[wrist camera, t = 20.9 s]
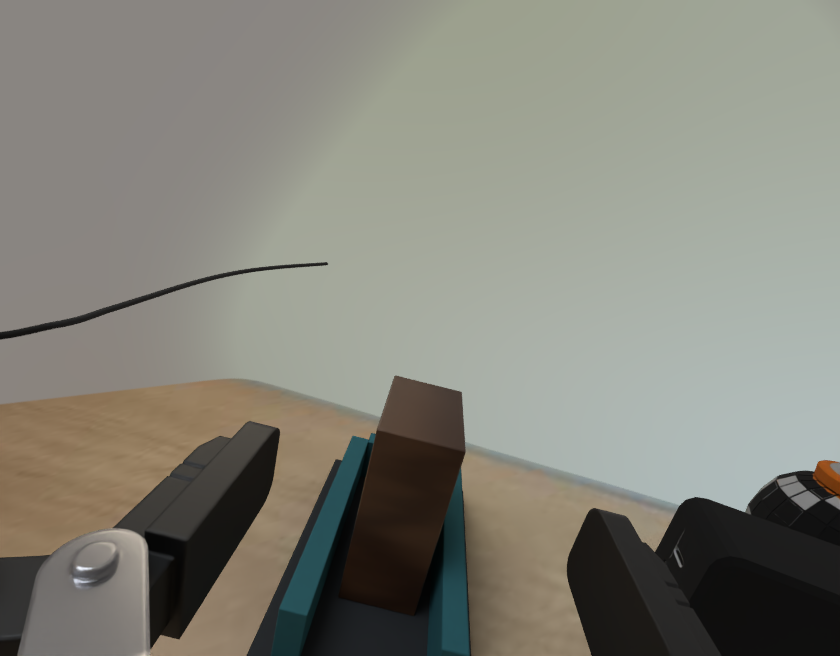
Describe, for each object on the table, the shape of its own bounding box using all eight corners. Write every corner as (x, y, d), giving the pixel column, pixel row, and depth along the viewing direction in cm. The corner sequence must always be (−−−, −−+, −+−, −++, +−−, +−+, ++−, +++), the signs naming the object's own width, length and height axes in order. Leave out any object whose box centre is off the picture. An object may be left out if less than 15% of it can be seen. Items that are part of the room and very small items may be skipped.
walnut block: (337, 597, 20) (376, 429, 17) (362, 512, 26) (394, 374, 23) (414, 616, 20) (466, 451, 17) (421, 527, 26) (462, 391, 23)
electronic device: (613, 628, 23) (686, 490, 21) (808, 715, 21) (919, 574, 18) (628, 708, 20) (720, 550, 17) (868, 823, 17) (1021, 666, 14)
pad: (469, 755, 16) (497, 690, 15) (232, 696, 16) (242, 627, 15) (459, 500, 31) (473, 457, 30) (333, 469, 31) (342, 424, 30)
